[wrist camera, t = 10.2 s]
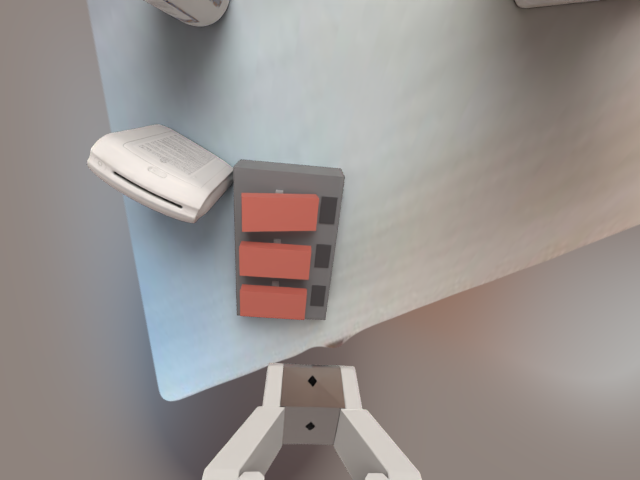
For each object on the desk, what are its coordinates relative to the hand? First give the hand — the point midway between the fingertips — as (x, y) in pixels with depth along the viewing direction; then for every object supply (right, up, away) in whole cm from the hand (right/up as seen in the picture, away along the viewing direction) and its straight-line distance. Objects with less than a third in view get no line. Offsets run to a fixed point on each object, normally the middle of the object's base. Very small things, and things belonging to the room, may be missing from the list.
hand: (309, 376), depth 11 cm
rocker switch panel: (-4, +5, +30) cm, 30 cm away
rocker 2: (-5, +3, +26) cm, 26 cm away
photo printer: (-15, +14, +25) cm, 32 cm away
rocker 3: (-5, -2, +28) cm, 29 cm away
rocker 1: (-4, +8, +23) cm, 25 cm away
